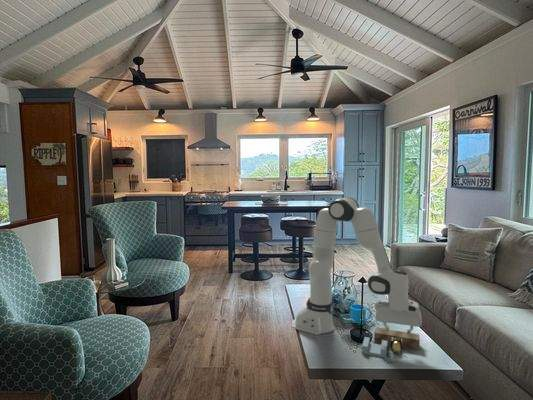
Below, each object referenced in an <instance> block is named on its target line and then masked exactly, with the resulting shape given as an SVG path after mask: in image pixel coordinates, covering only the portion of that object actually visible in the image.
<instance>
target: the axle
mask: <svg viewBox="0 0 533 400" xmlns="http://www.w3.org/2000/svg"><path fill="white" fill-rule="evenodd" d="M391 346H392V347H391V352H392V354H394V355H395V356H396V355H397V356H398V355H400V354H401V348H402V339H399V338H393V337H392V343H391Z"/></svg>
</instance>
